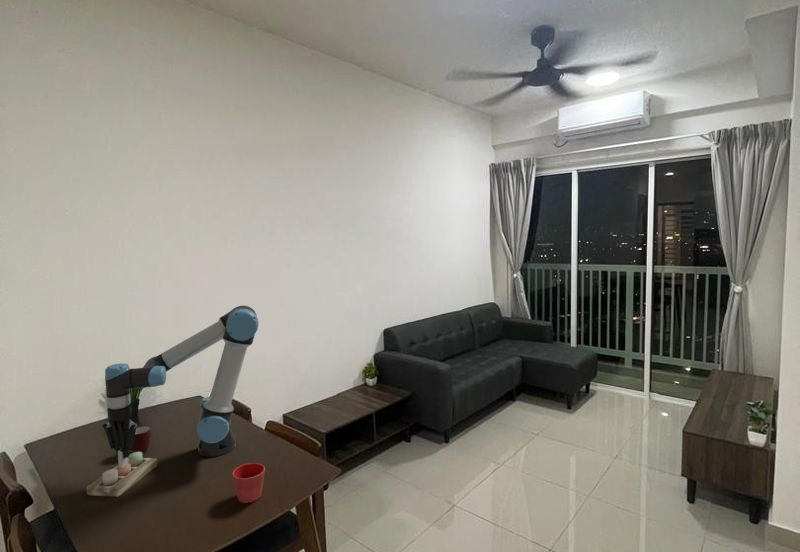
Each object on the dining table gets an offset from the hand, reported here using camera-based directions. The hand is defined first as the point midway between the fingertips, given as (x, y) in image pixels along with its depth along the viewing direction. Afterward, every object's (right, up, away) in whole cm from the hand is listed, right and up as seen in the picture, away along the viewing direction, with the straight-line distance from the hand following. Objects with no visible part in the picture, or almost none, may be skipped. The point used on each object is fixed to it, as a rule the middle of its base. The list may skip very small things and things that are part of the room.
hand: (123, 465), depth 161 cm
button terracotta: (0, -4, 0) cm, 4 cm away
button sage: (+1, -2, +7) cm, 7 cm away
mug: (-7, -4, +20) cm, 22 cm away
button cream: (0, -3, -6) cm, 7 cm away
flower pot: (+52, -6, -11) cm, 54 cm away
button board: (0, -5, 0) cm, 6 cm away
